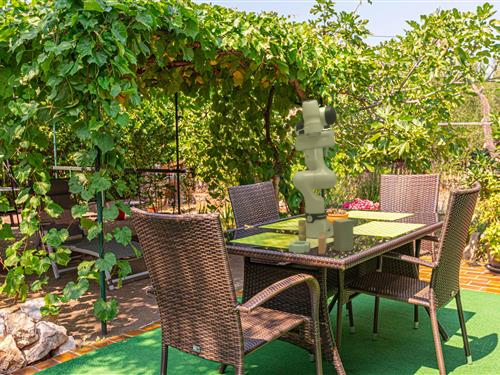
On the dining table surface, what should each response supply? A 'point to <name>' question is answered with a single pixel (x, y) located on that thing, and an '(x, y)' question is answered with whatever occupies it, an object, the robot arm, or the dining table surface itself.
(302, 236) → the dowel
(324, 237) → the wall
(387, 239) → the dining table surface
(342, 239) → the skincare box
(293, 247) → the block
